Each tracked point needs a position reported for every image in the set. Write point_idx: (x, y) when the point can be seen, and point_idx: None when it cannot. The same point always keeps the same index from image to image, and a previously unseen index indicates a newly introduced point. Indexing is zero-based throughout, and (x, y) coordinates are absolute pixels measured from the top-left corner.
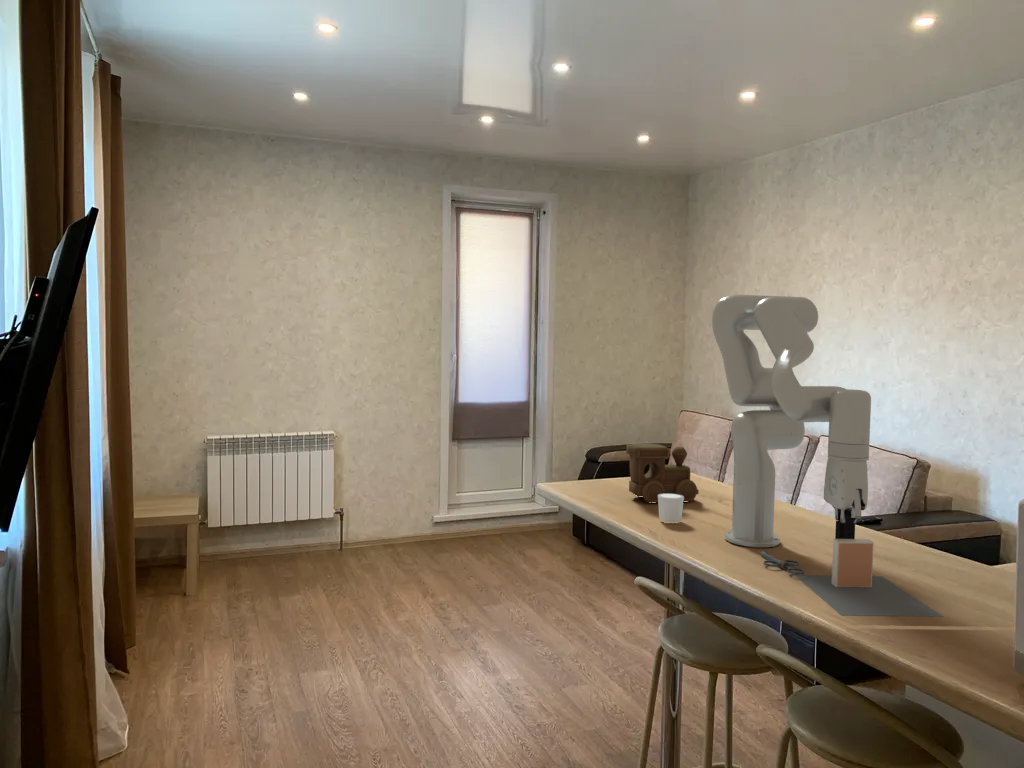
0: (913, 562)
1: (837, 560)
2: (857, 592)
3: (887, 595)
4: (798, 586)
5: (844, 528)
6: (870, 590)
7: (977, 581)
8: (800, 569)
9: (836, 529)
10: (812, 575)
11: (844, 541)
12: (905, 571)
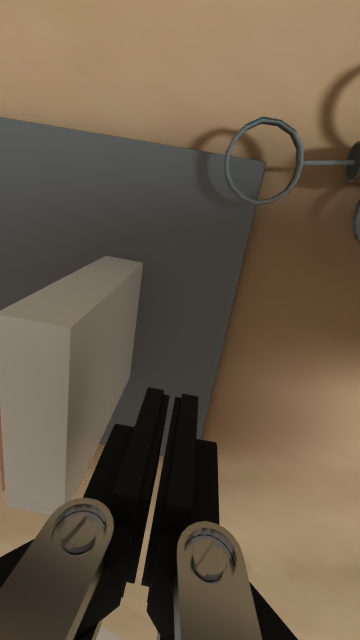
0: (307, 603)
1: (59, 281)
2: None
3: None
4: (152, 113)
5: (95, 475)
6: None
7: (148, 615)
8: (274, 198)
9: (178, 442)
10: (243, 243)
11: (5, 362)
12: (243, 544)
